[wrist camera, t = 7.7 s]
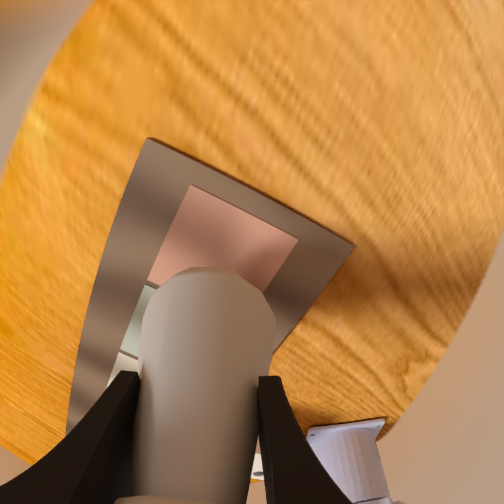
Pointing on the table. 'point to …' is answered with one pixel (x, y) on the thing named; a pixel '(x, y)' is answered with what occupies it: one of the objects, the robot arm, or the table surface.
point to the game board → (192, 258)
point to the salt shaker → (200, 389)
